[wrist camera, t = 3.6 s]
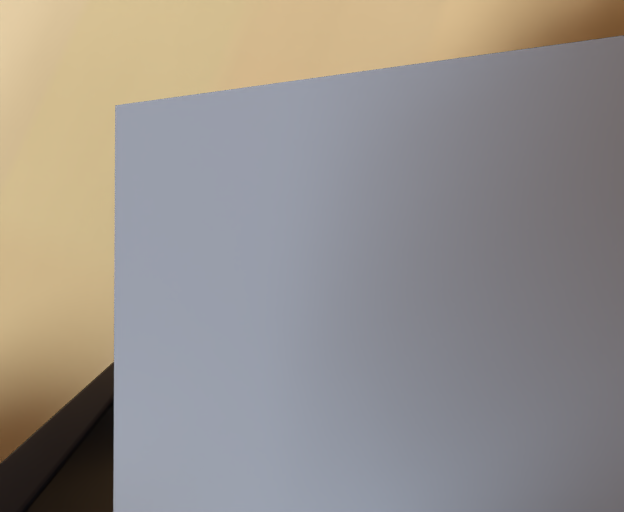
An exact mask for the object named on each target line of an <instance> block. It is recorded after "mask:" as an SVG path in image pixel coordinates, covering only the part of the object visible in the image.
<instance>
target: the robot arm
mask: <svg viewBox="0 0 624 512" xmlns="http://www.w3.org/2000/svg"><path fill="white" fill-rule="evenodd" d="M113 483H114V362H113V363H112V364H111V365H110V366H109V367H107V368H106V369H105V370H104V371H103V372H102V373H101V374H100V375H98V376H97V377H96V378H95V379H94V380H93V381H92V382H91V383H90V384H88V385H87V386H86V387H85V388H84V389H83V390H82V391H81V392H79V393H78V394H77V395H76V396H75V397H74V398H73V399H72V400H71V401H69V402H68V403H67V404H66V405H65V406H64V407H63V408H62V409H60V410H59V411H58V412H57V413H56V414H55V415H54V416H53V417H52V418H50V419H49V420H48V421H47V422H46V423H45V424H44V425H43V426H42V427H40V428H39V429H38V430H37V431H36V432H35V433H34V434H33V435H31V436H30V437H29V438H28V439H27V440H26V441H25V442H24V443H23V444H21V445H20V446H19V447H18V448H17V449H16V450H15V451H14V452H12V453H11V454H10V455H9V456H8V457H7V458H6V459H5V460H4V461H2V462H1V463H0V512H113Z"/></svg>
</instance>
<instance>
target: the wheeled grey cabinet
mask: <svg viewBox="0 0 624 512" xmlns="http://www.w3.org/2000/svg"><path fill="white" fill-rule="evenodd" d="M113 512H624V35H623V36H616V37H609V38H601V39H594V40H587V41H579V42H572V43H565V44H558V45H550V46H543V47H536V48H529V49H521V50H514V51H507V52H500V53H492V54H485V55H478V56H471V57H463V58H456V59H449V60H442V61H434V62H427V63H420V64H413V65H405V66H398V67H391V68H384V69H376V70H369V71H362V72H355V73H347V74H340V75H333V76H326V77H318V78H311V79H304V80H297V81H289V82H282V83H275V84H268V85H260V86H253V87H246V88H239V89H231V90H224V91H217V92H210V93H202V94H195V95H188V96H181V97H173V98H166V99H159V100H152V101H144V102H137V103H130V104H123V105H115V286H114V483H113Z"/></svg>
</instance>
